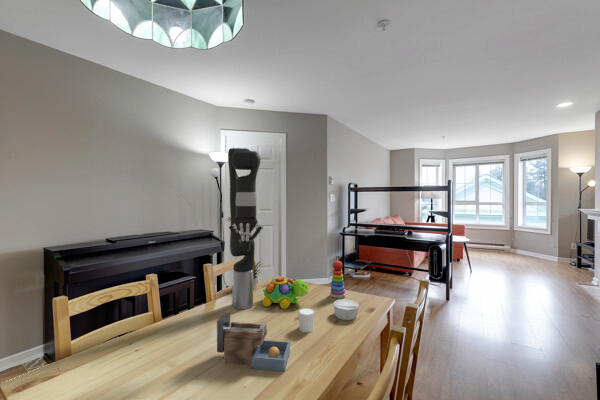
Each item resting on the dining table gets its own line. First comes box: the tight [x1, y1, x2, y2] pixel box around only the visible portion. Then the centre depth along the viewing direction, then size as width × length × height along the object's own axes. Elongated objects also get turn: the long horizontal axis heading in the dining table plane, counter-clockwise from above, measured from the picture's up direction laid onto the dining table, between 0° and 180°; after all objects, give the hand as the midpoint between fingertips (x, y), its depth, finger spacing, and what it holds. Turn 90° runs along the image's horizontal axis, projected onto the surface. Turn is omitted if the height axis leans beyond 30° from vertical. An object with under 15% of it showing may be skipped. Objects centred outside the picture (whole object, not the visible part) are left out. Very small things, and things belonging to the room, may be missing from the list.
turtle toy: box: [262, 277, 309, 310], centre depth 133 cm, size 17×23×12 cm
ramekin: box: [332, 298, 360, 321], centre depth 119 cm, size 11×11×5 cm
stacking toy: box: [329, 260, 346, 299], centre depth 142 cm, size 8×8×19 cm
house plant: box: [253, 260, 264, 290], centre depth 154 cm, size 14×14×16 cm
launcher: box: [223, 321, 268, 366], centre depth 88 cm, size 12×7×10 cm, turn 83°
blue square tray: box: [251, 339, 291, 372], centre depth 87 cm, size 10×10×4 cm
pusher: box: [216, 312, 266, 354], centre depth 88 cm, size 14×6×10 cm, turn 83°
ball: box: [268, 347, 279, 358], centre depth 87 cm, size 4×4×4 cm
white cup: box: [297, 307, 316, 333], centre depth 107 cm, size 7×7×7 cm
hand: (246, 250), depth 101 cm, fingers closed
